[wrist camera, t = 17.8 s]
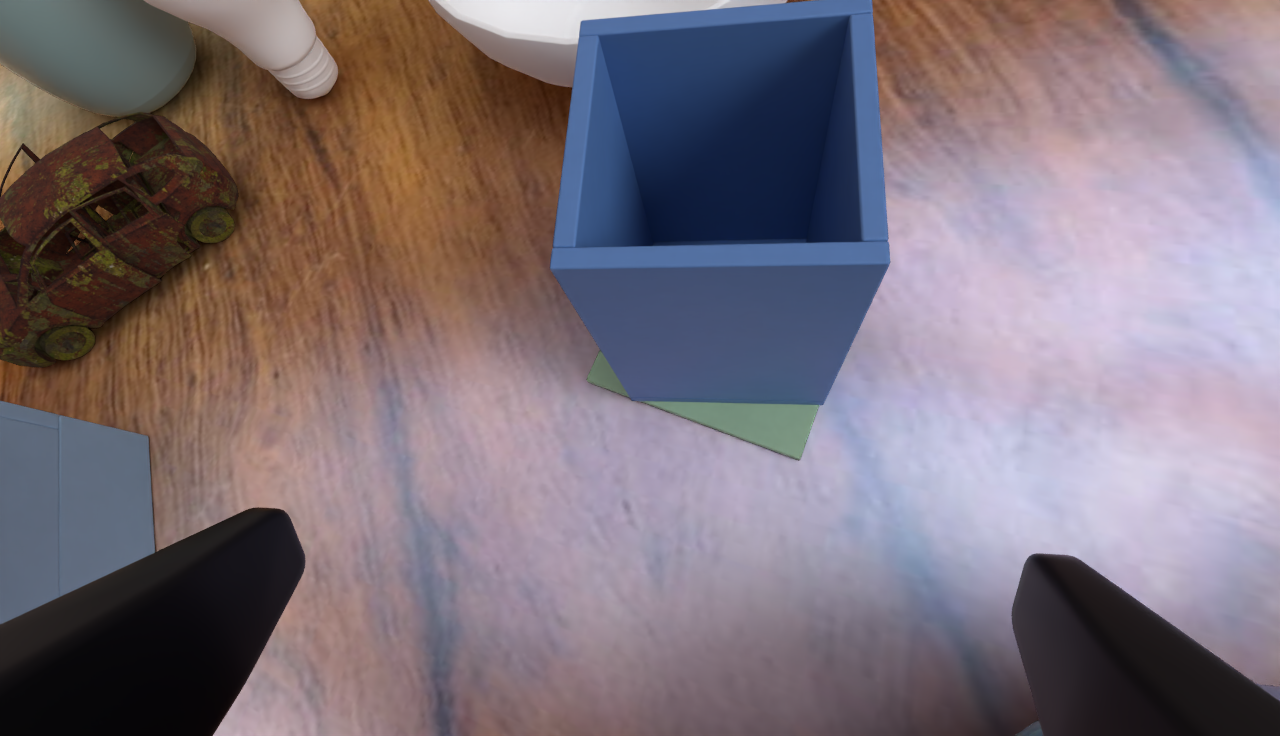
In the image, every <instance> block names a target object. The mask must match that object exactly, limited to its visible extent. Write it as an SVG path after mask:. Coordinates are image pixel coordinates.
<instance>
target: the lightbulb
mask: <svg viewBox="0 0 1280 736" xmlns="http://www.w3.org/2000/svg"><path fill="white" fill-rule="evenodd" d="M144 1H145V2H147V3H148V4H150V5H152V6H154V7H156V8H158V9H161V10H163V11H165V12H167V13H169V14H172V15H174V16H176V17H178V18H180V19H183V20H185V21H187V22H190V23H193V24H195V25H198V26H201V27H203V28H206V29H208V30H210V31H212V32H213V33H215V34H217V35H219V36H221V37H222V38H224V39H226V40H227V41H229V42H230V43H231V44H233V45H234V46H235V47H237V48H238V49H239V50H241V51H242V52H243V53H244V54H245V55H246V56H247V57H248V58H249V59H250V60H251V61H252V62H254V63H255V64H256V65H257V66H259V67H261V68H263V69H266V70H268V71H269V72H270V73H271V74H272V75H273V76H275V78H276V79H277V80H278V81H279V82H281V83H282V84H283V86H284V87H286V88H287V89H288V90H289V91H290V92H291V93H292V94H293V95H295V96H296V97H298V98H303V99H314V98H317V97H320V96H324V95H326V94H327V93H329V92H330V90H331V89H332V87H333V86H334V84H335V82H336V80H337V76H338V67H337V64H336V63H335V61H334V59H333V57H332V56H331V55H330V54H329V53H328V50H327V49H326V48H325V47H324V46H323V43H322V42H321V41H320V39H319V38H318V37H317V36H316V30H315V27H314V24H313V22H312V20H311V19H310V17H309V16H308V15H307V13H306V12H305V10H304V9H303V7H302V5H301V3H300V1H299V0H144Z"/></svg>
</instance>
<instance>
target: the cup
mask: <svg viewBox="0 0 1280 736" xmlns="http://www.w3.org/2000/svg"><path fill="white" fill-rule="evenodd" d="M196 55H197V51H196V43H195V38H194V35H193V32H192V29H191V27H190V25H189V23H188V22H187V21H185V20H183V19H180V18H178V17H176V16H174V15H172V14H169V13H167V12H165V11H163V10H161V9H158V8H156V7H154V6H152V5H150V4H148V3H147V2H145V1H144V0H0V65H2V66H3V67H5V68H6V69H8V70H9V71H11V72H13V73H14V74H16V75H17V76H19V77H21V78H22V79H24V80H26V81H27V82H29V83H31V84H32V85H34V86H36V87H38V88H40V89H41V90H43V91H45V92H47V93H49V94H50V95H52V96H54V97H56V98H58V99H60V100H62V101H64V102H66V103H69V104H71V105H73V106H76V107H78V108H81V109H84V110H86V111H89V112H92V113H95V114H99V115H104V116H109V117H117V118H118V117H121V116H125V115H129V114H133V113H137V112H145V113H151V112H153V111H156V110H158V109H159V108H161V107H162V106H164V105H165V104H167V103H168V102H169V101H170V100H172V99H173V98H174V97H175V96H176V95H177V94H178V93H179V92H180V91H181V90H182V88H183V87H184V86H185V84H186V83H187V81H188V80H189V78H190V76H191V74H192V72H193V69H194V66H195V62H196Z"/></svg>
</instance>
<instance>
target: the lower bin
mask: <svg viewBox="0 0 1280 736" xmlns="http://www.w3.org/2000/svg"><path fill="white" fill-rule="evenodd" d="M153 553H155V541H154V524H153V507H152V490H151V473H150V456H149V439H148V436H146V435H142V434H138V433H134V432H129V431H125V430H121V429H117V428H113V427H108V426H104V425H100V424H96V423H91V422H87V421H83V420H79V419H75V418H70V417H66V416H62V415H57V414H54V413H50V412H46V411H41V410H37V409H33V408H29V407H25V406H20V405H16V404H12V403H8V402H4V401H0V624H3V623H5V622H7V621H9V620H11V619H13V618H15V617H18V616H20V615H22V614H24V613H26V612H28V611H30V610H33V609H35V608H37V607H39V606H41V605H43V604H45V603H48V602H50V601H52V600H54V599H56V598H58V597H61V596H63V595H65V594H67V593H69V592H71V591H73V590H76V589H78V588H80V587H82V586H84V585H86V584H88V583H91V582H93V581H95V580H97V579H99V578H101V577H103V576H106V575H108V574H110V573H112V572H114V571H116V570H119V569H121V568H123V567H125V566H127V565H129V564H131V563H134V562H136V561H138V560H140V559H142V558H144V557H146V556H149V555H151V554H153Z"/></svg>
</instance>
